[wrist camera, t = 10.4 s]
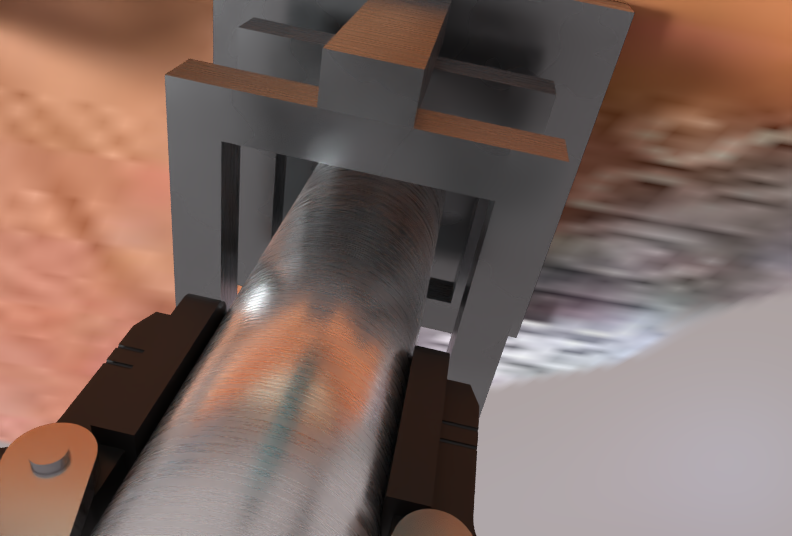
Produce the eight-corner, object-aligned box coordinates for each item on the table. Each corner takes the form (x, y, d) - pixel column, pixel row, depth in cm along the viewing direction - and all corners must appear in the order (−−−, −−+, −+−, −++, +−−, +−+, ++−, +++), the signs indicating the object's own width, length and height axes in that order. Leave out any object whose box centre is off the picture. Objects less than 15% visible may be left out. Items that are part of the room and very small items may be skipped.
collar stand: (628, 3, 18) (697, 94, 11) (516, 318, 25) (518, 491, 18) (228, -79, 19) (68, -39, 12) (225, 253, 25) (122, 399, 19)
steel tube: (460, 141, 18) (225, 1493, 3) (432, 258, 20) (222, 1351, 6) (321, 111, 18) (-521, 1276, 3) (310, 230, 20) (-217, 1227, 6)
